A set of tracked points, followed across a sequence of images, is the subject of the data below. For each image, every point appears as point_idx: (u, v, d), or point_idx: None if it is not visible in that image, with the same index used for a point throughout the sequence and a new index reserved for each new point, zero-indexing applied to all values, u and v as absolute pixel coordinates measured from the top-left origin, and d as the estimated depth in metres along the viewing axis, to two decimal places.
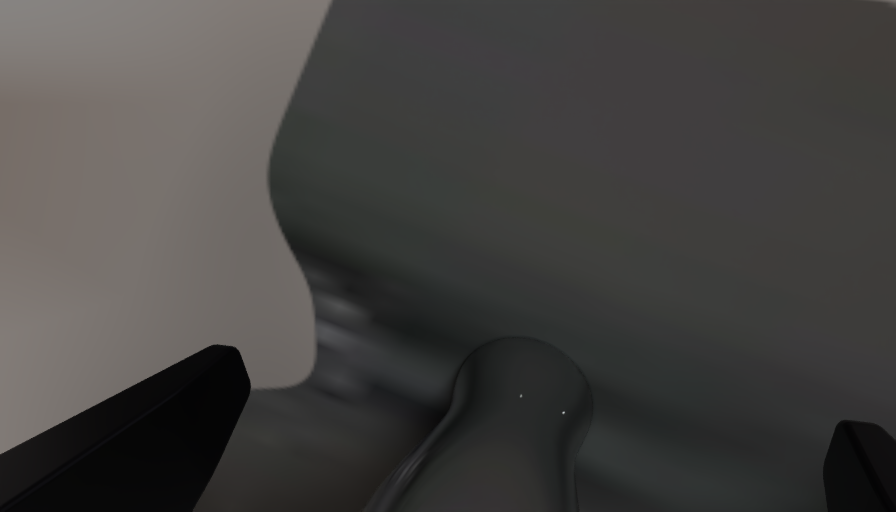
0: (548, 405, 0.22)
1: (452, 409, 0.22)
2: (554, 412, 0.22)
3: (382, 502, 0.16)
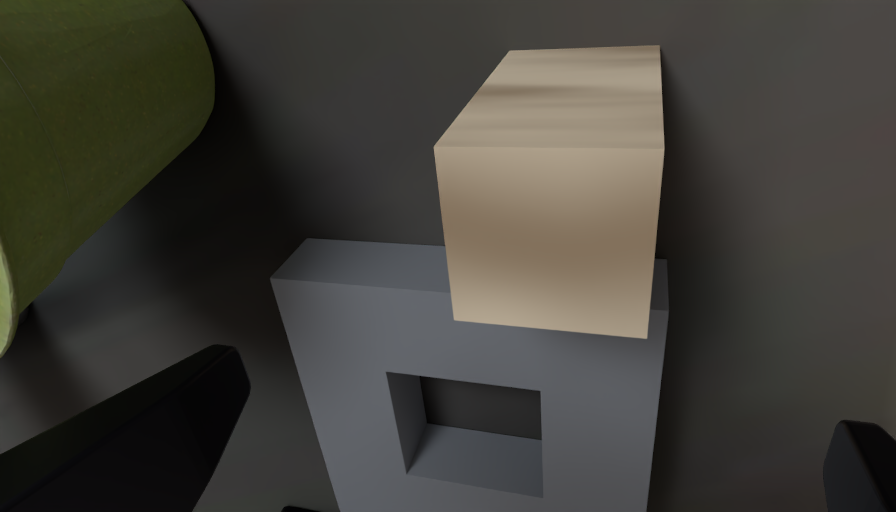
0: None
1: None
2: None
3: None
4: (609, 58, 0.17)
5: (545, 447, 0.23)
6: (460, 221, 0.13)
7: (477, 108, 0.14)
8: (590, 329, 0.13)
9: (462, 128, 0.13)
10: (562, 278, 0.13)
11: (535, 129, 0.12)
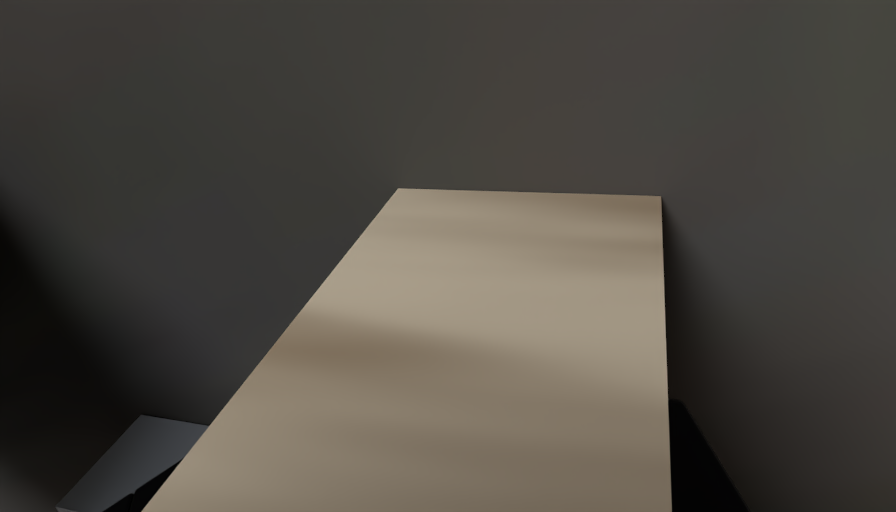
0: None
1: None
2: None
3: None
4: (564, 235, 0.09)
5: None
6: None
7: (238, 429, 0.06)
8: None
9: None
10: None
11: None
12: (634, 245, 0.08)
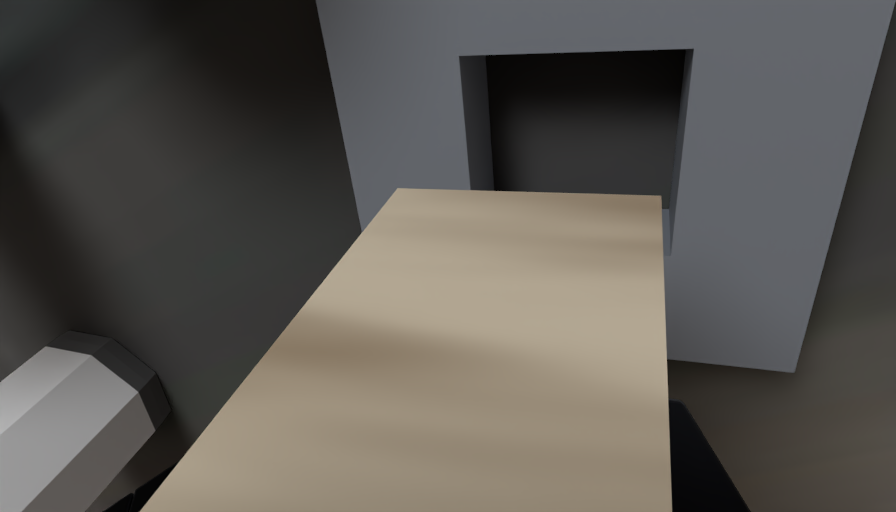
0: None
1: None
2: None
3: None
4: (563, 234, 0.09)
5: (686, 160, 0.16)
6: None
7: (236, 430, 0.06)
8: None
9: None
10: None
11: None
12: (634, 245, 0.08)
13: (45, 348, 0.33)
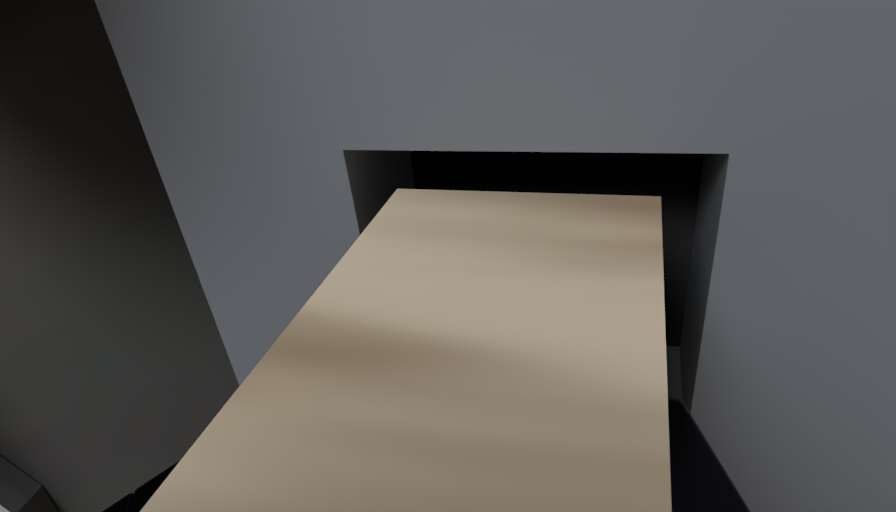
0: None
1: None
2: None
3: None
4: (563, 235, 0.09)
5: (713, 320, 0.10)
6: None
7: (235, 430, 0.06)
8: None
9: None
10: None
11: None
12: (634, 245, 0.08)
13: None
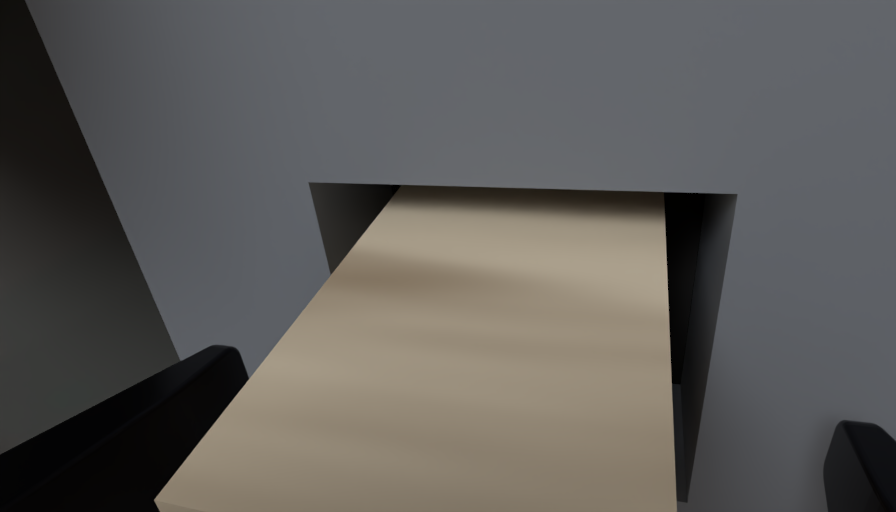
0: None
1: None
2: None
3: None
4: (577, 190, 0.10)
5: (718, 372, 0.09)
6: None
7: (310, 334, 0.07)
8: None
9: (248, 418, 0.06)
10: None
11: (392, 447, 0.06)
12: (639, 198, 0.09)
13: None
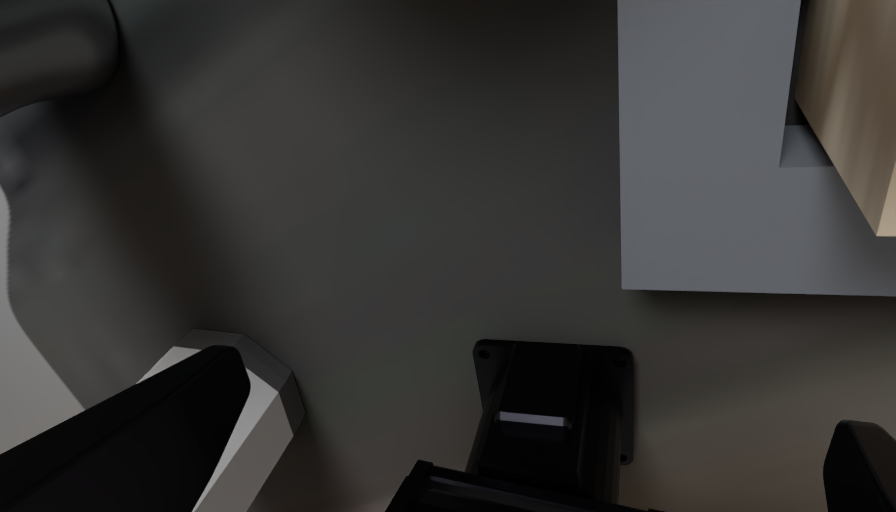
0: None
1: None
2: None
3: None
4: None
5: None
6: None
7: None
8: None
9: None
10: None
11: None
12: None
13: (173, 348, 0.29)
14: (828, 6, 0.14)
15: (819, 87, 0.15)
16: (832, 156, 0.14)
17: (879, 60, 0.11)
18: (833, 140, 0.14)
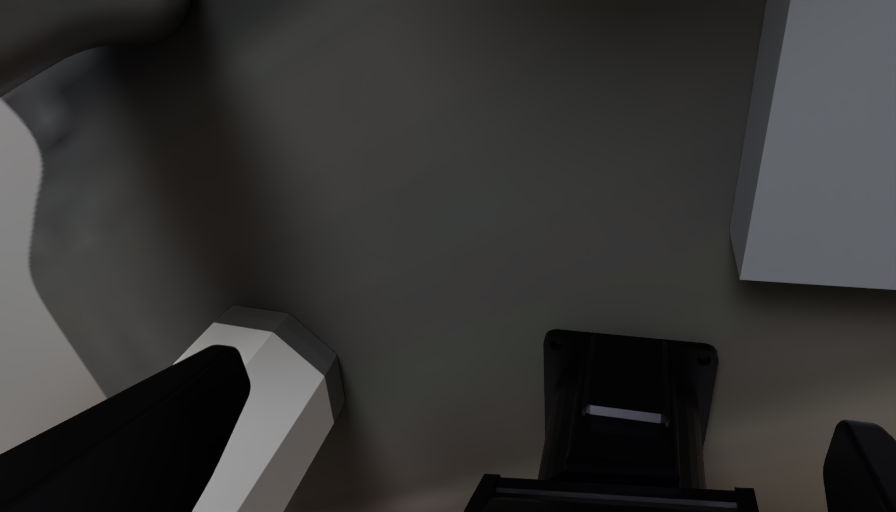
0: None
1: None
2: None
3: None
4: None
5: None
6: None
7: None
8: None
9: None
10: None
11: None
12: None
13: (214, 324, 0.28)
14: None
15: None
16: None
17: None
18: None
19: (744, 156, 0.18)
